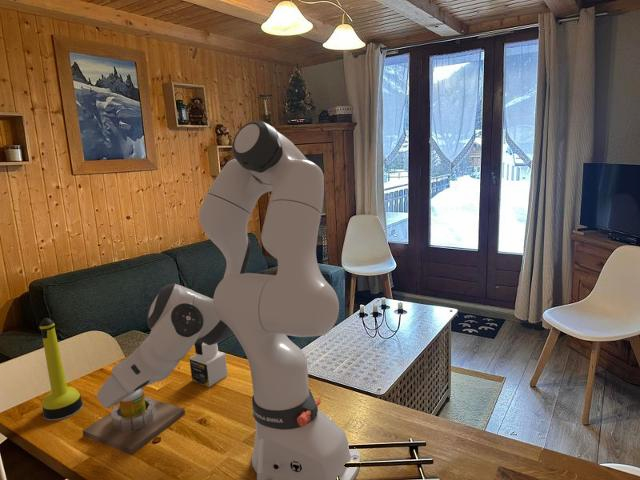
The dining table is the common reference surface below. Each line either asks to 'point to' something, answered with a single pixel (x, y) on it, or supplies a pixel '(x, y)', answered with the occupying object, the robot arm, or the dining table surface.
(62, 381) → the flashlight
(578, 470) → the dining table surface
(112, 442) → the walnut base plate
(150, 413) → the steel collar
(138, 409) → the supplement bottle
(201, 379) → the medicine bottle
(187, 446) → the dining table surface
